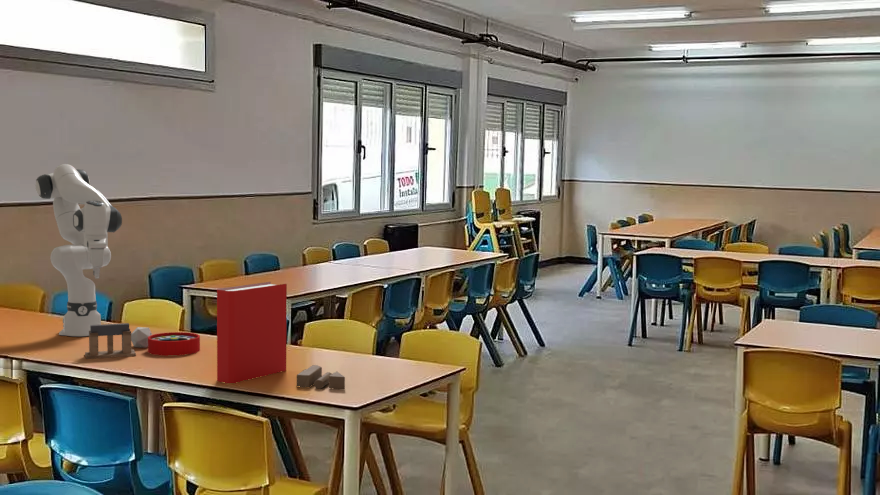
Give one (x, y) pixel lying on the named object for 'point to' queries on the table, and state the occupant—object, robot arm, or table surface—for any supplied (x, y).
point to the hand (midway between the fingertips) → (96, 276)
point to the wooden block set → (320, 378)
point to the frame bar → (109, 329)
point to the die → (140, 337)
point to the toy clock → (173, 343)
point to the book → (251, 331)
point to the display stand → (109, 347)
